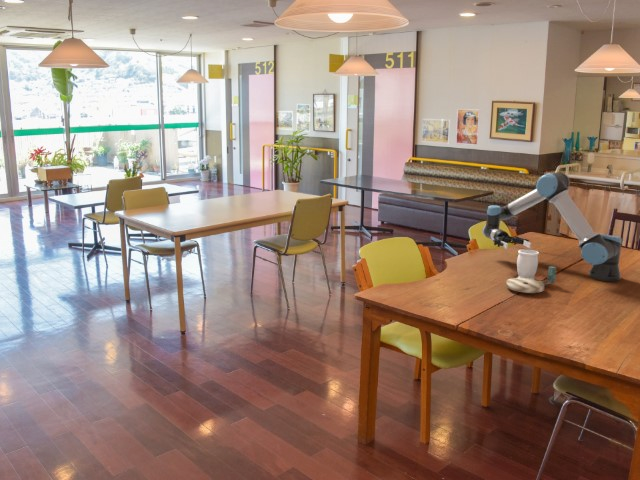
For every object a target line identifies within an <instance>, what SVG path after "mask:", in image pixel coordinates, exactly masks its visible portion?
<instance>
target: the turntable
mask: <svg viewBox="0 0 640 480" xmlns="http://www.w3.org/2000/svg"><path fill="white" fill-rule="evenodd" d="M547 268H548V269H547V277H546V279H545V280H544V279H543V280H537V279H534V280H533V279H528V278H518V277H512V278H508V279H507V280H506V283H505V287H506V288H508V289H509V290H511V291H514V292H519V293H524V294H536V293H537V294H539V293H542V292H543V291H545V285H551V284H555V282H556V273H557V267H555V266H548V267H547Z"/></svg>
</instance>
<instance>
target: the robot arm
mask: <svg viewBox="0 0 640 480" xmlns="http://www.w3.org/2000/svg"><path fill="white" fill-rule="evenodd" d="M570 185H571V181H570V177H569V176H568V175H567V174H566V173H563V172H559V171H558V172H551V173H545V174H543V175H541V176H540V177H539V178H538V179H537V182H536V185H535V188H534V189H533V190H531V191H529V192H527V193H526V194H524V195H522V196H520V197H519V198H517V199H514V201H511V202H509V203H507V204H506V205H504V206H501V205H500V206H499V205H493V204H492V205H489V206H487V210H486V224H485V225H484V226H483V228H482V234H483V235H484V236H485V237H486V238H488V239H489V240H491V241H492V242H493V245H494V246H497V248H500V247H502V248H503V249H506V250H507V249H508V247H509V244H518V245H523V246H524V247H526V248H527V249H532V243H531V242H530V240H529V239H527V238H522V237H519V236H515V235H514V236H511V235H509V233H508V232H507V231H504V230H503V229H500V224H501V221H505V220H510V219H511V218H513V217H514V216H515V215H518V214H520V213H521V212H524V211H526V210H527V209H529V208H531V207H533V206H535V205H537V204H538V203H541V202H542V201H544V200H547V201H548V203H551V204H554V206H555V208H556V209H557V211H558V212H559V214H560V215H561V216H562V218H563V219H564V221H565V222H566V224H567V226H569V229H571V231H572V233H573V234H574V236H575V237H576V239H577V240H578V241H579V242H578V247H579V248H580V250H581V252H580V255H581V257H582V259H583V261H585V262H586V263H587V264H589V265H592V266H591V268H590V271H589V273H588V275H589V278H591V279H593V280H597V281H600V282H601V281H603V282H611V283H612V282H619V281H620V280H621V271H620V266H619V264H620V257H621V249H622V245H623V243H622V241H623V240H622V237H620V236H616V235H609V234H602V233H598V232H595V230H594V229H593V227H592V226H591V225H590V224H589V222H588V221H587V219H586V218H585V216H584V215H583V213H582V212H581V211H580V209H579V207H578V206H577V205H576V204H575V203H576V202H574V201H573V199H572V198H571V197H570V195H569V192H570V189H569V187H570Z"/></svg>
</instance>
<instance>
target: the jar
mask: <svg viewBox="0 0 640 480" xmlns="http://www.w3.org/2000/svg"><path fill="white" fill-rule="evenodd" d="M517 252H518V255H517V258H516V267H517V268H516V270H517V275H518V276H517V278H528V279H533V280H535V276H536V273H537V270H538V265H539V257H538V256H539V254H540V252H539V251H537V250H533V249H528V248H527V249H523V248H522V249H518V251H517Z"/></svg>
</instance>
